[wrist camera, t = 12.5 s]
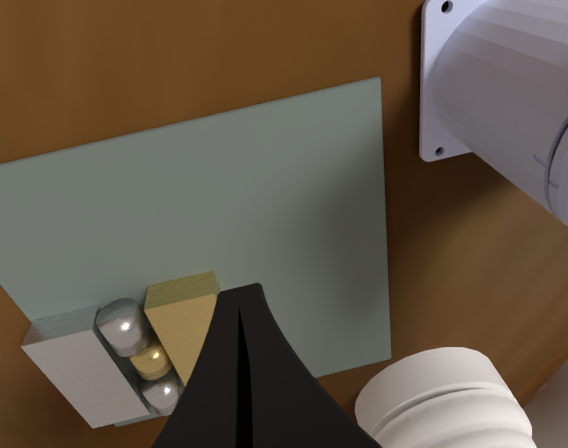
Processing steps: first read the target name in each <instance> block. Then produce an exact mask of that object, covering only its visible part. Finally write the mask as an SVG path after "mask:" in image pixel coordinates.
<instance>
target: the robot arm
mask: <svg viewBox="0 0 568 448" xmlns="http://www.w3.org/2000/svg"><path fill="white" fill-rule="evenodd" d="M445 1H448V3H449V6H448V9H447V10H446V11H445V12H442V10H441V8H442V5H443V3H444V2H445ZM439 147H441V150H440V151H439V152H438V153H435V152H436V150H437V149H438V148H439ZM469 152H474V153H475V154H476V155H477V156H479V157H480V158H481V159H482V160H484V161H485V162H486V163H488V164H489V165H490V166H491V167H493V168H494V169H495V170H496V171H498V172H499V173H500V174H501V175H503V176H504V177H505V178H507V179H508V180H509V181H510V182H512V183H513V184H514V185H515V186H517V187H518V188H519V189H521V190H522V191H523V192H524V193H526V194H527V195H528V196H529V197H531V198H532V199H533V200H534V201H536V202H537V203H538V204H540V205H541V206H542V207H543V208H545V209H546V210H547V211H548V212H550V213H551V214H552V215H553V216H555V217H556V218H557V219H559V220H560V221H562V223H564V224H565V225H566V226H568V0H426V1H425V3H424V4H423V6H422V19H421V75H420V132H419V155H420V157H421V158H422V159H423V160H424V161H426V162H431V161H435V160H440V159H444V158H448V157H452V156H457V155H461V154H465V153H469ZM151 448H382V446H381V445H380V444H379V443H378V442H377V441H376V440H374V439H373V438H372V437H371V436H370V435H369V434H368V433H367V432H366V431H364V430H363V429H362V428H361V427H360V426H359V425H358V424H357V423H356V422H355V421H354V420H353V419H352V418H351V417H350V416H349V415H348V414H347V413H346V412H345V411H344V410H343V409H342V408H341V407H340V406H339V405H338V404H337V403H336V402H335V400H334V399H333V398H332V397H331V396H330V395H329V394H328V393H327V392H326V391H325V390H324V389H323V387H322V386H321V385H320V384H319V383H318V381H317V380H316V379H315V378H314V377H313V375H312V374H311V373H310V372H309V370H308V369H307V368H306V366H305V365H304V364H303V363H302V361H301V360H300V358H299V357H298V356H297V354H296V353H295V351H294V350H293V348H292V347H291V345H290V344H289V342H288V341H287V339H286V338H285V336H284V335H283V333H282V331H281V329H280V328H279V326H278V324H277V322H276V321H275V319H274V317H273V315H272V313H271V311H270V309H269V306H268V304H267V301H266V297H265V294H264V291H263V287H262V284H260V283H258V282H257V283H253V284H249V285H245V286H241V287H237V288H233V289H229V290H224V291H220V292H219V294H218V295H217V300H216V304H215V308H214V312H213V315H212V319H211V322H210V325H209V329H208V332H207V334H206V337H205V340H204V343H203V346H202V349H201V351H200V354H199V356H198V359H197V361H196V364H195V366H194V368H193V371H192V373H191V376H190V378H189V380H188V382H187V384H186V387H185V389H184V391H183V393H182V395H181V397H180V399H179V401H178V403H177V404H176V406H175V408H174V410H173V412H172V414H171V415H170V417H169V419H168V421H167V422H166V424H165V426H164V428H163V429H162V431H161V433H160V434H159V436H158V438H157V439H156V441H155V443H154V444H153V446H152V447H151Z"/></svg>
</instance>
